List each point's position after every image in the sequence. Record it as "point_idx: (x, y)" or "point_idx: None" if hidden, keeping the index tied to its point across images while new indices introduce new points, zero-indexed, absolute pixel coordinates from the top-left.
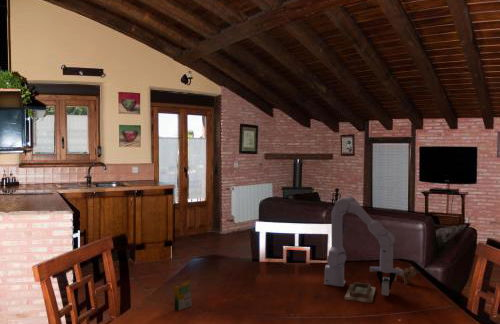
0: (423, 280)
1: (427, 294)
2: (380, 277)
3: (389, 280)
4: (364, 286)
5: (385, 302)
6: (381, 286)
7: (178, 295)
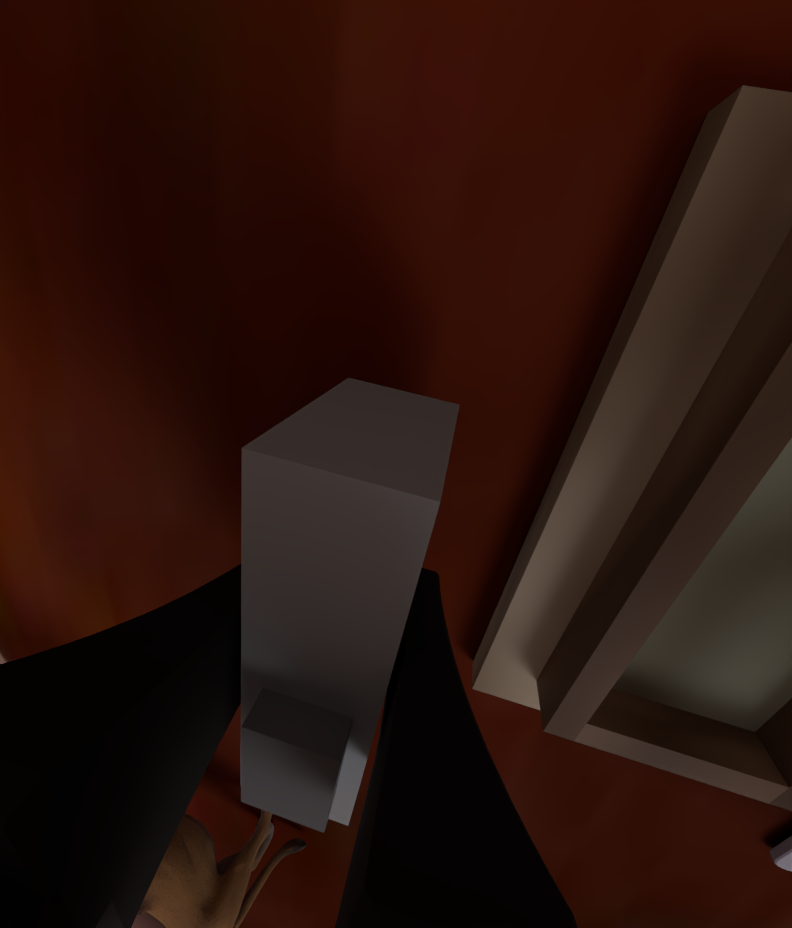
0: None
1: (17, 556)
2: (430, 792)
3: (243, 706)
4: (635, 704)
5: (426, 228)
6: (425, 587)
7: None
